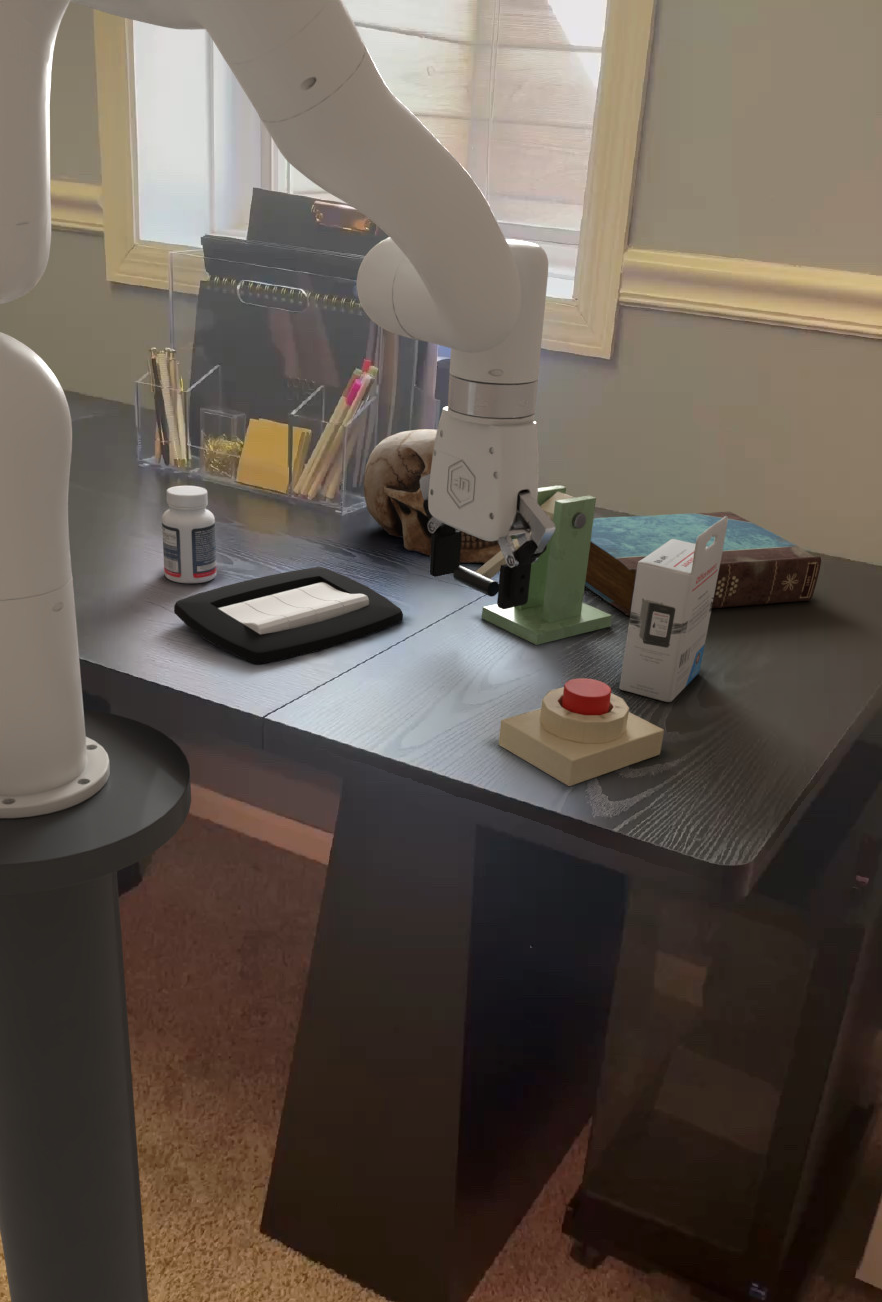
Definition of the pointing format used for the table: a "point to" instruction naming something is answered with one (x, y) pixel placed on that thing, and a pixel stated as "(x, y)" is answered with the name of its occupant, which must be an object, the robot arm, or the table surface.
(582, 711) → the button
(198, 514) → the pill bottle
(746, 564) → the book
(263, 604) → the light switch
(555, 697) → the button box
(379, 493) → the human skull model
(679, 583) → the ink box
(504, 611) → the bracket
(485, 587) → the lever
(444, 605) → the table surface
